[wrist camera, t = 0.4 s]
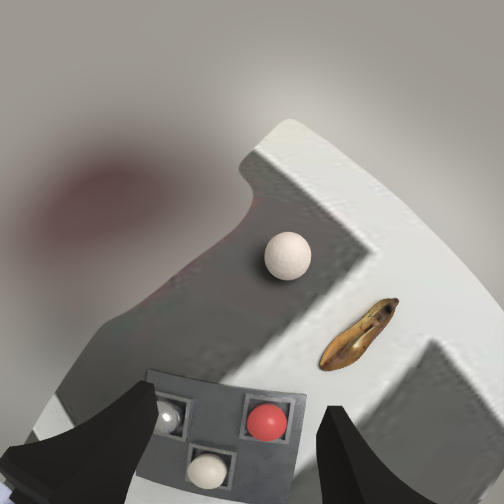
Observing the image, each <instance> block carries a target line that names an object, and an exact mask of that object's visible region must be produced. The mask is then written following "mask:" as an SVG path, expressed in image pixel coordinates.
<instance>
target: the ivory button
mask: <svg viewBox="0 0 504 504" xmlns="http://www.w3.org/2000/svg"><path fill="white" fill-rule="evenodd" d="M187 473H188V477H189V479H190V480H191V482H192V483H193V484H195V485H196V486H198V487H200V488H203V489H214V488H216V487H218V486H220V485H221V484H222V482H223V480H224V478H225V476H226V474H227V465H226V463H225V462H224V460H223V459H222V458H220V457H219V456H217V455H214V454H210V453H205V454H201V455H199V456H197V457H196V458H195V459H194V460H193V462H192V463H191V464H190V465H189V467H188V470H187Z"/></svg>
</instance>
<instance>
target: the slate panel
mask: <svg viewBox="0 0 504 504" xmlns="http://www.w3.org/2000/svg"><path fill="white" fill-rule="evenodd" d="M146 382H149V383H153V384H154V387H155V394H156V400H157V401H158V400H169V401H171V402H173V403H174V404H176V405H177V406H178V408H179V409H180V411H181V414H182V422H181V425H180V426H179V427H178V428H177V429H176V430H174V431H173V432H171V433H169V434H167V435H156V434H154V433H153V434H152V436H151V438H150V441H149V443H148V445H147V447H146V449H145V451H144V453H143V455H142V457H141V459H140V461H139V463H138V465H137V468H136V476H139V477H142V478H145V479H148V480H150V481H153V482H157V483H160V484H163V485H166V486H170V487H173V488H177V489H180V490H184V491H188V492H192V493H196V494H200V495H205V496H209V497H214V498H219V499H225V500H231V501H237V502H244V503H251V504H287V502H288V497H289V493H290V488H291V484H292V479H293V474H294V469H295V464H296V458H297V453H298V448H299V442H300V436H301V430H302V424H303V418H304V411H305V404H306V398H307V395H306V394H296V393H284V392H275V391H266V390H258V389H250V388H243V387H236V386H230V385H224V384H218V383H212V382H207V381H202V380H197V379H192V378H187V377H183V376H178V375H174V374H169V373H165V372H161V371H157V370H153V369H148V374H147V380H146ZM264 403H271V404H275V405H277V406H278V407H280V408H281V409H282V410H283V412H284V414H285V417H286V421H287V426H286V430H285V432H284V433H283V434H282V435H281V436H280V437H279V438H277V439H276V440H273V441H261V440H258V439H256V438H254V437H253V436H252V435H251V434H250V432H249V430H248V427H247V420H248V417H249V415H250V413H251V411H252V410H253V409H254V408H255V407H256V406H258V405H260V404H264ZM205 453H210V454H214V455H217V456H219V457H220V458H222V459H223V460H224V462H225V463H226V465H227V474H226V476H225V478H224V480H223V482H222V484H221V485H220V486H218V487H216V488H214V489H203V488H200V487H198V486H196V485H195V484H193V483H192V482H191V480H190V479H189V477H188V473H187V470H188V467H189V465H190V464H191V463H192V462H193V460H194V459H195V458H196V457H197V456H199V455H201V454H205Z"/></svg>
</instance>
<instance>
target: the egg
mask: <svg viewBox="0 0 504 504" xmlns="http://www.w3.org/2000/svg"><path fill="white" fill-rule="evenodd" d="M310 261H311V251H310V248H309V245H308V243H307V242H306V240H305V239H304V238H302V237H301V236H300V235H298V234H296V233H293V232H284V233H280V234H278V235H276V236H275V237H273V238H272V239H271V240H270V241H269V243H268V245H267V247H266V249H265V264H266V267H267V268H268V270H269V272H270V273H271V274H272V275H273V276H275V277H276V278H279V279H281V280H294V279H296V278H299V277H300V276H301V275H303V274H304V273H305V272H306V270H307V269H308V267H309V264H310Z"/></svg>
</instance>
